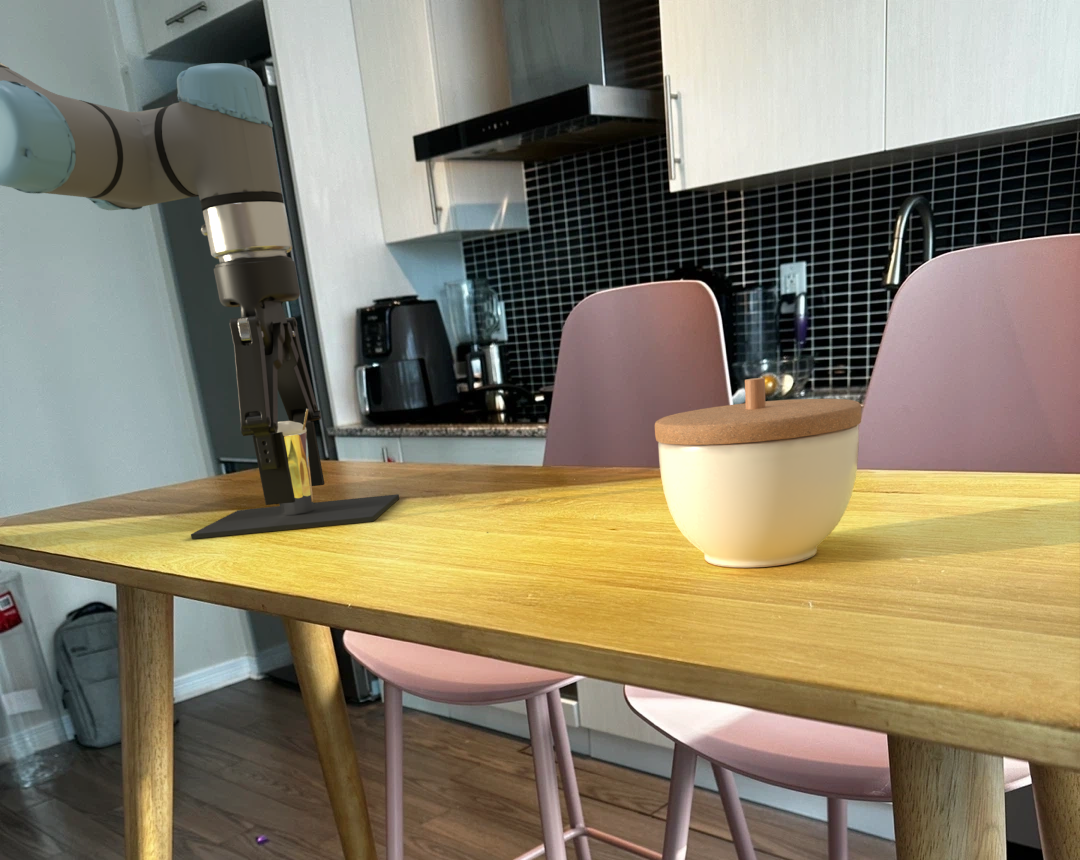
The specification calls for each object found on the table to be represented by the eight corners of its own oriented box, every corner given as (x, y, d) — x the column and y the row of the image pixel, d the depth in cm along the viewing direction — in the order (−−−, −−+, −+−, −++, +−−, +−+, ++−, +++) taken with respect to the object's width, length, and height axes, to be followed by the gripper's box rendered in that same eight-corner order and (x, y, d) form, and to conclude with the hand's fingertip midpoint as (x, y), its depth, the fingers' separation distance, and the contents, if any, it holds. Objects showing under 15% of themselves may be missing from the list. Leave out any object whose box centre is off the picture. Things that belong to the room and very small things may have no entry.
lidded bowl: (794, 586, 59) (790, 385, 55) (624, 569, 67) (611, 394, 64) (896, 540, 67) (899, 362, 63) (733, 530, 76) (727, 373, 72)
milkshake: (315, 514, 102) (296, 411, 99) (267, 518, 104) (247, 416, 100) (335, 506, 107) (317, 406, 103) (288, 509, 108) (270, 411, 104)
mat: (191, 539, 99) (190, 534, 99) (238, 514, 112) (237, 510, 112) (373, 521, 98) (372, 516, 98) (399, 498, 111) (398, 494, 111)
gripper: (252, 269, 108) (292, 481, 115) (166, 255, 86) (222, 517, 94) (322, 261, 107) (357, 475, 115) (253, 244, 85) (302, 509, 93)
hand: (296, 494), depth 104 cm, fingers open, 11 cm apart
